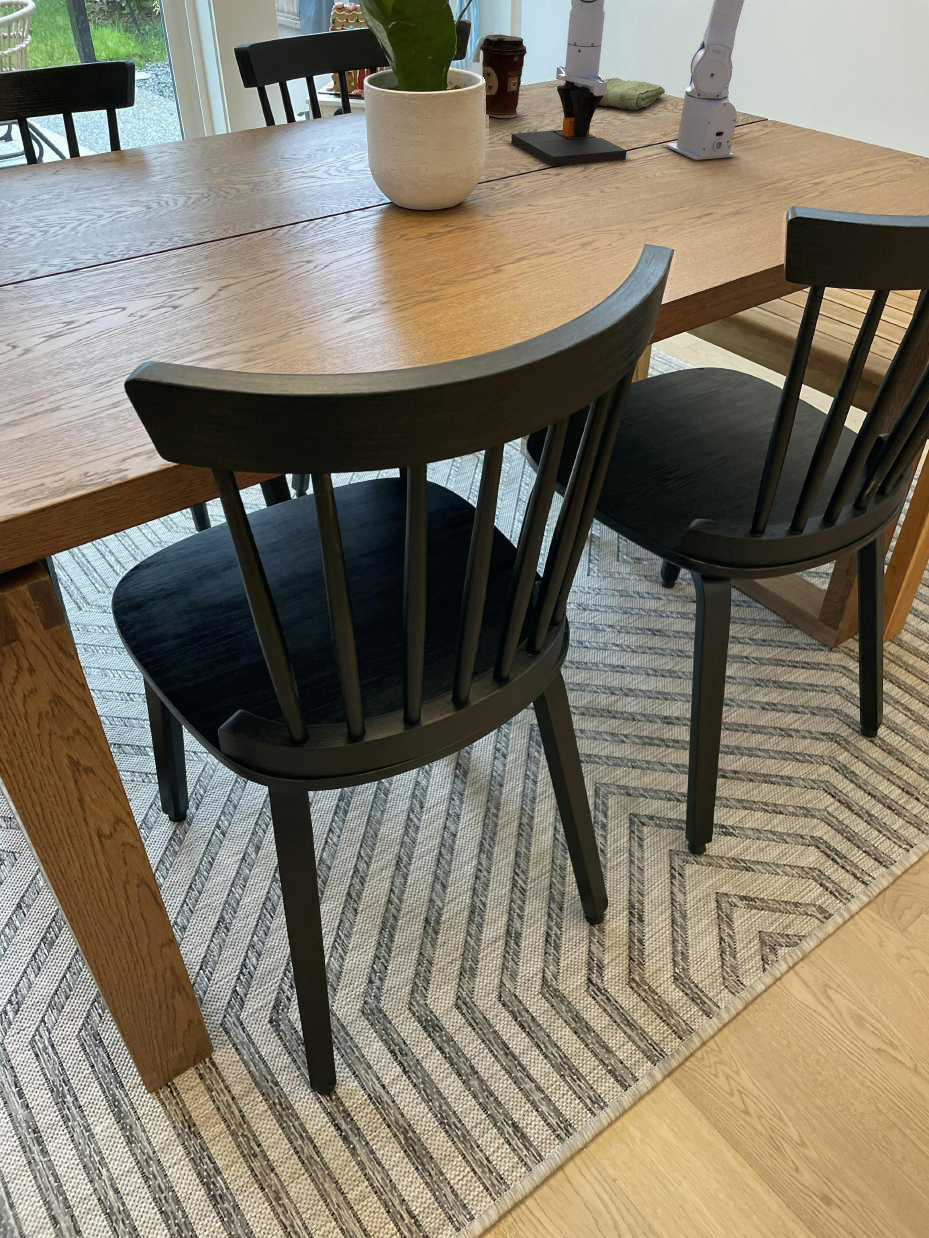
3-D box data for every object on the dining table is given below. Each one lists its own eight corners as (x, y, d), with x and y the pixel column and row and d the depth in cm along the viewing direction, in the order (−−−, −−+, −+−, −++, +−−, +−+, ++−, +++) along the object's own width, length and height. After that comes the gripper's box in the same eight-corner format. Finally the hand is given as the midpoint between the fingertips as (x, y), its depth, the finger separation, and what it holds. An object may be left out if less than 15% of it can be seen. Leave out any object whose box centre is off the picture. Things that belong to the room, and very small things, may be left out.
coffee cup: (484, 121, 175) (487, 41, 166) (472, 111, 181) (474, 33, 172) (528, 119, 177) (532, 40, 168) (514, 109, 183) (518, 32, 174)
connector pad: (595, 146, 162) (598, 121, 160) (568, 148, 161) (570, 123, 158) (580, 139, 166) (583, 114, 164) (554, 141, 164) (556, 116, 162)
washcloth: (666, 97, 195) (669, 80, 193) (638, 113, 183) (641, 95, 181) (608, 90, 199) (610, 73, 197) (577, 105, 187) (579, 87, 185)
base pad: (625, 160, 156) (627, 150, 155) (552, 166, 152) (553, 157, 151) (580, 137, 167) (581, 128, 166) (511, 143, 163) (511, 133, 162)
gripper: (543, 37, 157) (537, 125, 166) (584, 52, 147) (575, 145, 156) (579, 36, 160) (572, 123, 168) (622, 50, 149) (611, 142, 158)
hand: (576, 133), depth 162 cm, fingers open, 3 cm apart
